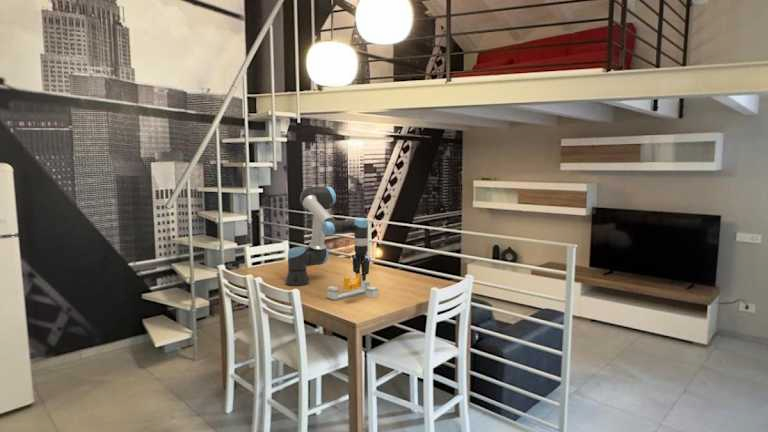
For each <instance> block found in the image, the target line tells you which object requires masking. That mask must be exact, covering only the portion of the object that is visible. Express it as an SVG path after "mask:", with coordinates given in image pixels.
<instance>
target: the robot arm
mask: <svg viewBox="0 0 768 432" xmlns="http://www.w3.org/2000/svg"><path fill="white" fill-rule="evenodd" d="M299 201H300V203H301V205H302V207H303V208H304V209H306V210H308V211H309V212H310V213H311V214H312V215H313V216H314V217H313V224H312V232H311V239H310V240H311V241H310V242H309V244H308V246H307V247H308V248H306V246H301V245H300V246H296V247H292V248H289V250H288V251H287V263H288V264H287V266H288V267H287V275H286V279H285V284H286V285H288V286H295V287H296V286H305V285H309V283H310V277H309V274H308V273H307V267H312V266H321V265H324V264H325V263H327V262H328V260H329V256H330V255H329V254H330V253H329V249H328V247H327V245H326V244H325V239H326V235H330V236H331V235H332V236H333V235H341V234H343V235H344V234H354V253H355V254H352V255H351V258H352V270H353V271H352V272H353V273H355V277H356V276H357V275H358V274H360V275H361V286H365V280H367V278H366V277H367V275H369V271H370V261H371V257H368V254H367V253H368V251H369V250H368V244H369V242H368V240H369V239H368V237H369V236H368V235H369V234H368V232H369V228H368V227H369V223H368V218H367V217H356V218H355V219H351V218H347V219H345V220H335V219H334V217H332V215H331V214H330V213H329V210H331V209H332V205H334V204H335V203H336V201H337V196H336V191H335V190H334V189H333V187H331V186H327V185H326V186H325V185H324V186H308V187H306V188H304V189H303V190H302V191H301V193H300V197H299Z"/></svg>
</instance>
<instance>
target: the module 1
mask: <svg viewBox="0 0 768 432" xmlns="http://www.w3.org/2000/svg"><path fill="white" fill-rule="evenodd" d="M326 291H327V297H329V298H332V299H336V298H338V294H339V287H336V286H332V285H331V286H330V285H329V286H327V290H326Z"/></svg>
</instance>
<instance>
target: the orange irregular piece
mask: <svg viewBox="0 0 768 432" xmlns="http://www.w3.org/2000/svg"><path fill="white" fill-rule="evenodd" d="M360 286H361V275H360V274H358V275H357V276H356V275H355V279H354V281H352V282H351V280H350V277H348V276H345V277H343V290H346V291H354V290H358V288H359V287H360Z"/></svg>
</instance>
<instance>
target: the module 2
mask: <svg viewBox="0 0 768 432" xmlns="http://www.w3.org/2000/svg"><path fill="white" fill-rule="evenodd" d="M370 281H371V280H367V279H366V280H365V286H360V287H358V289H359V290H360V289H361V290H364V291H366V288H368V287H371V284H370V283H371V282H370Z"/></svg>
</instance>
